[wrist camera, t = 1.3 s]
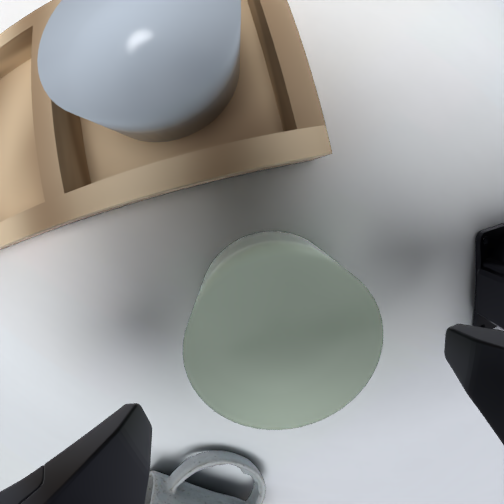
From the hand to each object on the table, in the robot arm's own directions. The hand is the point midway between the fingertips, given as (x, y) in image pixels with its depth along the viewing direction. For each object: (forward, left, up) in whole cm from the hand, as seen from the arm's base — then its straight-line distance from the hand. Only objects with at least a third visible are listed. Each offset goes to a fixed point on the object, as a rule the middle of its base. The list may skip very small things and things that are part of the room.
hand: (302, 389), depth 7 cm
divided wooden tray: (+7, -11, -7) cm, 15 cm away
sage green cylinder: (0, 0, -7) cm, 7 cm away
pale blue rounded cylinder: (+2, -11, -6) cm, 13 cm away
